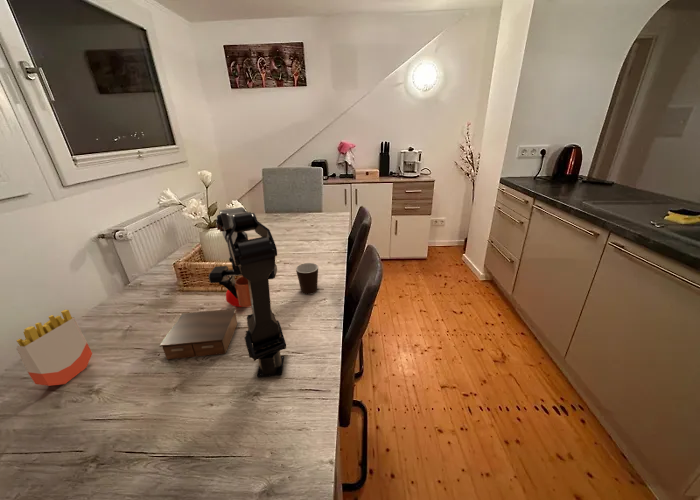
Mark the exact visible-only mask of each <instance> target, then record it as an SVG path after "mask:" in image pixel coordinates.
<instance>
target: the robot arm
mask: <svg viewBox="0 0 700 500" xmlns="http://www.w3.org/2000/svg"><path fill="white" fill-rule="evenodd" d="M218 213H219V214H217V215H216V219H215V224H216V229H217V231H219V232H221V233H222V236H223V239H224V240H225V242H226V244H227V249H228V253H229V258H228V261H229V263H230V264H231V269H229V266H227V265H219V266H218V265H217V266H214V267H213V269H211V271H210V272H209V274H208V276H207V277H208V281H209V282H208V283H210V284H219V285H220V286H223V287H224V288H225V289H227V290H229V291H230V292H231V293H232V294H233V295H234V296H235V297H236V298H238V297H237V293H236V288H235V283H234V282H235V280H236V279H235V277H242V276H243V277H245V278H246V279H247V280H248V287H249V293H250V300H251V306H250V307H251V313H250V314H248V315H247V316H246V321H247V322H246V324H247V326H246V327H247V330H245V336H244V342H245V345H246V348H247V349H246V350H247V353H248V357H249V359H250V358H251V359H252V360H253V362H255V361H257V360H258V364H259V365H258V369H257V373H256V377H257V378H267V377H276V376H282V375H283V373H284V364H285V356H284V355H281V351H283V350H286V349H287V342H286V339H285V336H284V333H283V330H282V327H281V323H280V322H279V321H280V320H277V318H276V316H275V314H274V313H273V311H272V306H271V305H272V304H271V295H270V294H271V293H270V282H269V280H273V279H275V278H276V276H277V272H278V266H277V264H276V257H278V249H277V244H276V242H275V240H274V238H273V235H272V232H271V230H270V229H269V228H268V227H267V226H265V225H264V224H262V223H261V222H260V221H258V219H257V216H256V213H255V212H251V211H247V210H246V209H245V208H244V207H243V206H241V207H233V208H225V209H220V210H219V211H218ZM250 231H254V232H255V233H256V234H257V235H258V236H260V237H255V238H250V239H249V236H248V233H247V232H250Z"/></svg>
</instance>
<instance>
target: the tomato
mask: <svg viewBox="0 0 700 500" xmlns="http://www.w3.org/2000/svg"><path fill="white" fill-rule="evenodd" d="M225 300H226V302H227V303H228V304H229V305H230V306H232V307H238V308H242V306H240V305H239V302H238V298H236V297H235V296H234V295H233V294H232V293H231V292H230V291H229V290H228V289H227V290H226V291H225Z"/></svg>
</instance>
